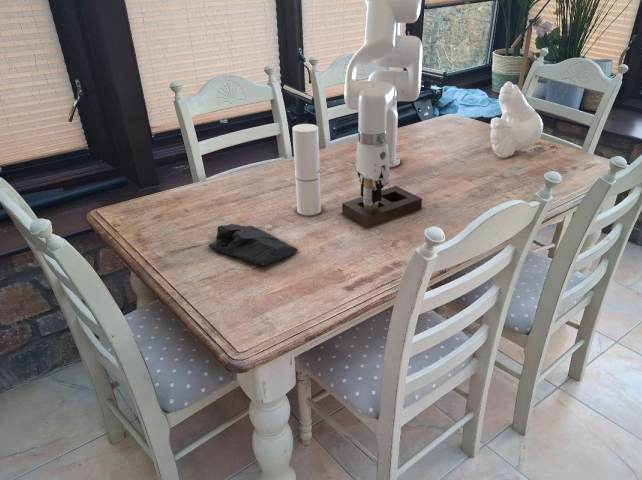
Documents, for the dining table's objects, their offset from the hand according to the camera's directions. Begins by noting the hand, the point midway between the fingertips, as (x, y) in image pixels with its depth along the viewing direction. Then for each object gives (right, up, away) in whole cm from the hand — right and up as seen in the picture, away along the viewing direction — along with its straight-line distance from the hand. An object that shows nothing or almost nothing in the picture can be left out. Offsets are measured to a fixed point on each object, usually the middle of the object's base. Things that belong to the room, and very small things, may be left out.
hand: (370, 197), depth 157 cm
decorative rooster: (+53, +25, +48) cm, 76 cm away
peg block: (+3, -3, +5) cm, 7 cm away
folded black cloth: (-32, -16, -14) cm, 38 cm away
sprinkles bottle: (0, -4, +3) cm, 5 cm away
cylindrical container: (-19, -3, +6) cm, 20 cm away
